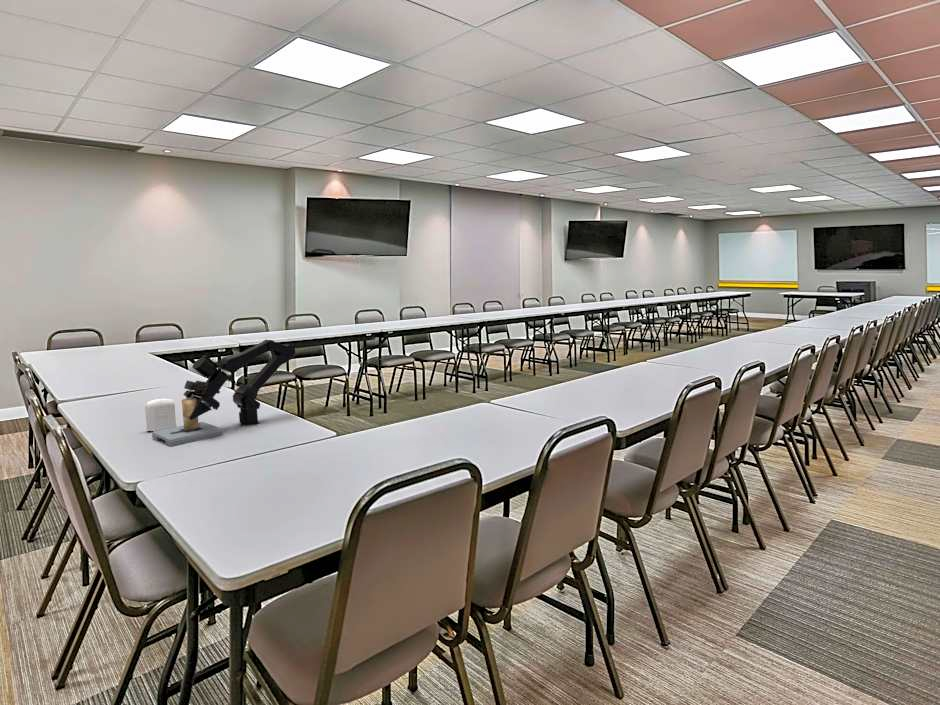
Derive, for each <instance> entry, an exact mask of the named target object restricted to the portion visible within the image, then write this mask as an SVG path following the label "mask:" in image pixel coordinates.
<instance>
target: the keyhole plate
mask: <svg viewBox="0 0 940 705" xmlns="http://www.w3.org/2000/svg"><path fill="white" fill-rule="evenodd" d="M198 423H199V428H197V429H195V431H192V432H189V430H185V429H184V425H180V426H176V427H174V428H169V429H164V430H159V431H153V432H151V437H152V438H154V439H153V440H155V439H156V440H155V441H159V440H158V439H161V440H163V441H165V445H166V444H167V445H166V446H168V445H169V446H168V447H170V446H171V447H174V446H173V445H175V446H178V445H177V444H180V445H183V444H182V443H184V444H188V442H189V443H192V441H193V442H196V441H197V440H198V441H201V440H206V439H211V438H215V437H220V436H223V434H224V432H223V428H222V427H219V426H216V425H214V424H210V423H208V422H205V421H200V422H199V421H198ZM187 432H188V433H187ZM198 441H197V442H198Z"/></svg>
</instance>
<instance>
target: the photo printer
mask: <svg viewBox="0 0 940 705" xmlns="http://www.w3.org/2000/svg"><path fill="white" fill-rule="evenodd" d="M144 407H145V408H144V410H145V423H146V431H153V432H154V431H159V430H164V429H169V428H174V427H177V419H176V406H175V402H174V400H173V399H171V398H157V399H152V400H149V401H147V402H146V403H145V406H144Z"/></svg>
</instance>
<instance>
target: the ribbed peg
mask: <svg viewBox="0 0 940 705" xmlns="http://www.w3.org/2000/svg"><path fill="white" fill-rule="evenodd" d="M196 406H197V400H196V398H187V399H186V398H183V399H181V409H182V418H183V419H182V420H183V426H184V429H185V430H189V432H192V431H195V429H197V428H199V416H198V417H196V418H194V419H193V420H190V419H189V417H190V415H191V414H192V412H193V411H194V409H195V407H196ZM187 433H188V432H187Z"/></svg>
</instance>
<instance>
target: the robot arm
mask: <svg viewBox="0 0 940 705" xmlns="http://www.w3.org/2000/svg"><path fill="white" fill-rule="evenodd" d="M267 352H271V353H272V355H271V357H270V360H269V361H268V362H267V363H266V364H265V365H264V366H263V367H262V369H261V370H260V371H259V372H258V373H256V375H255V376H254V377H253V378H252V379H251V381H250V382H249V383H247V384H246V385H245V384H240V385H239V386H238V387H237V388H236V389H235V390H234V393H233V395H232V401H233V403H234V404H236V406H237V409H238V408H239V410H240V411H238V417H239V418H238V419H239V420H238V422H239V424H241V426H247V425H248V426H249V425H258V424H259V418H258V410H260V407H261V402H259V401H257V400H256V399H257V396H258V393H259V391H260V389H261V388H263V386H264V385H265V384H266V383H267V381H269V379H270V378H271V377H272V376H273V375H274V374H275V372H277V370H279V368H280V367H281V366H282V365H285V364H286V363H288V362H290V361H291V360H292V359H293V358H294V357H295V355H296V348H295V347H294V346H293V345H290V344H284V343H283V344H282V343H280V342H277V341H274V340H272V339H264V340H263V341H262V342H259V343H257V344H255V345H253V346H252V347H249V348H246V349H245V350H244V351H241V352H238V353H236V354H230V355H226V356H224V357H221V359H219V360H217V361H213V359H211V357H210V356H208V355H206V354H204V355H202V357H200V358H198V359H197V360H195V361H194V363H193V365H192V369H193V370H194V371H195V372H197V373H198V374H200V375H201V376H202V377H204V378H208V379H206V381H201V380H196V381H190V380H186V382H185V385H184V389H186V391H185V392H184V393H183V396H185V399H187V398H196V400H197V406H196V407H195V409H194V411H193V412H192V414H191V415H190V417H189V419H190V420H193V419H194V418H196V417H198V418H199V417H200V416H202V415H203V414H206V413H208V412H210V411H212V410H215V411H217V410H218V409H219V407H221V406H220V404H221V403H220V402H219V401H218V400H217V399H216V398H214V397H215V396H216V395H217V394H218V395H219V394H220V393H221V391H220V390H221V388H222V387H223V386H224V384H225V383H226V382H230V383H233V382H234V381H233V380H234V379H233V375H232V374H228V373H236V372H238V371H239V370H241V368H243V367H244V365H246V364H247V363H248V362H250V361H252V360H254V359H255V358H257V357H259V356H262V355H263V354H265V353H267ZM220 370H221V371H220ZM226 372H227V373H226Z"/></svg>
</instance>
